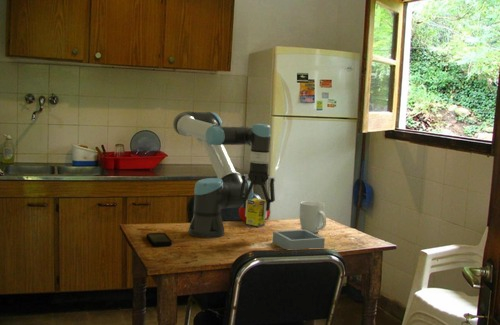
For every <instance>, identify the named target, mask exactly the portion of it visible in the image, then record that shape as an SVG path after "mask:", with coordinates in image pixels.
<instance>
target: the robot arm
mask: <svg viewBox="0 0 500 325" xmlns="http://www.w3.org/2000/svg"><path fill="white" fill-rule="evenodd" d="M172 122H173V124H172V126H173V127H172V128H173V129H174V131H175V132H176V133H177V135H180V136H184V137H194V138H197V141H198V143H200V144H202V145H203V147H204V149H205V151H206V154H207V156H208V158H209V161H210V164H211V165H212V168H213V170H214V171H215V174H216V176H217V177H209V178H202V179H199V180H197V181H196V182H195V185H194V190H193V196H194V197H193V215H192V216H193V217H192V219H191V221H190V224H189V227H188V234H189V235H191V236H192V237H197V238H203V239H205V238H208V239H209V238H210V239H212V238H214V239H215V238H220V237H223V236H224V235H225V226H224V222H223V219H222V210H223V209H234V208H238V209H239V208H241V207H244V208H246V211H245V217H246V216H247V200H250V199H254V198H253V197H254V186H256V185H257V186H261V190H262V192H263V196H264V200H266V202H265V203H264V218H263V219H266V218H267V211H269V209H271V208H270V207H271V203H274V202H275V200H276V198H275V197H276V196H275V181H276V178H275V177H271V176H269V163H268V162H269V161H270V147H271V136H272V134H271V125H269V124H266V123H253V124H252V127H249V126H246V125H245V126H243V125H242V126H241V125H240V126H223V125H222V124H223V122H222V119H221V117H220V116H219V114H217V113H216V112H213V111H212V112H211V111H182V112H180V113H178V114H177V115H176V116H175V117H174V119H173V121H172ZM225 146H250V159H249V160H250V163H249V172H248V174H241V173H240V172H237V171H236V169H235V166H234V164H233V162H232V160H231V158H230V155H229V153H228V151H227V149H226V147H225ZM267 180H268V182H269V191H268V188H267ZM269 194H270V195H269Z"/></svg>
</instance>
